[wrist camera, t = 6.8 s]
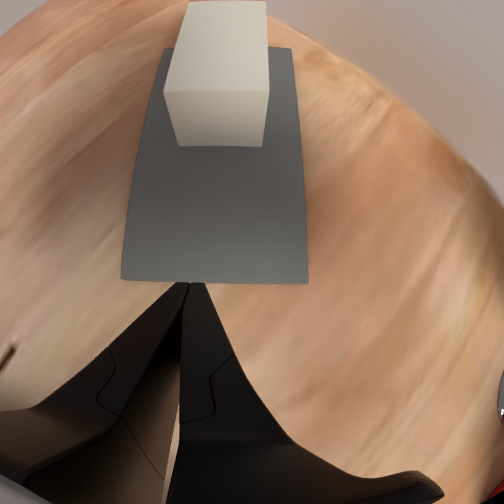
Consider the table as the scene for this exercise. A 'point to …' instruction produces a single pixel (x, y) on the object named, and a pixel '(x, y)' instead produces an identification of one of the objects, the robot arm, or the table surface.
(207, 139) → the tall block
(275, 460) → the robot arm
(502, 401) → the wine glass
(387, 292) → the table surface
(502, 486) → the canned food
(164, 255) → the rubber mat
